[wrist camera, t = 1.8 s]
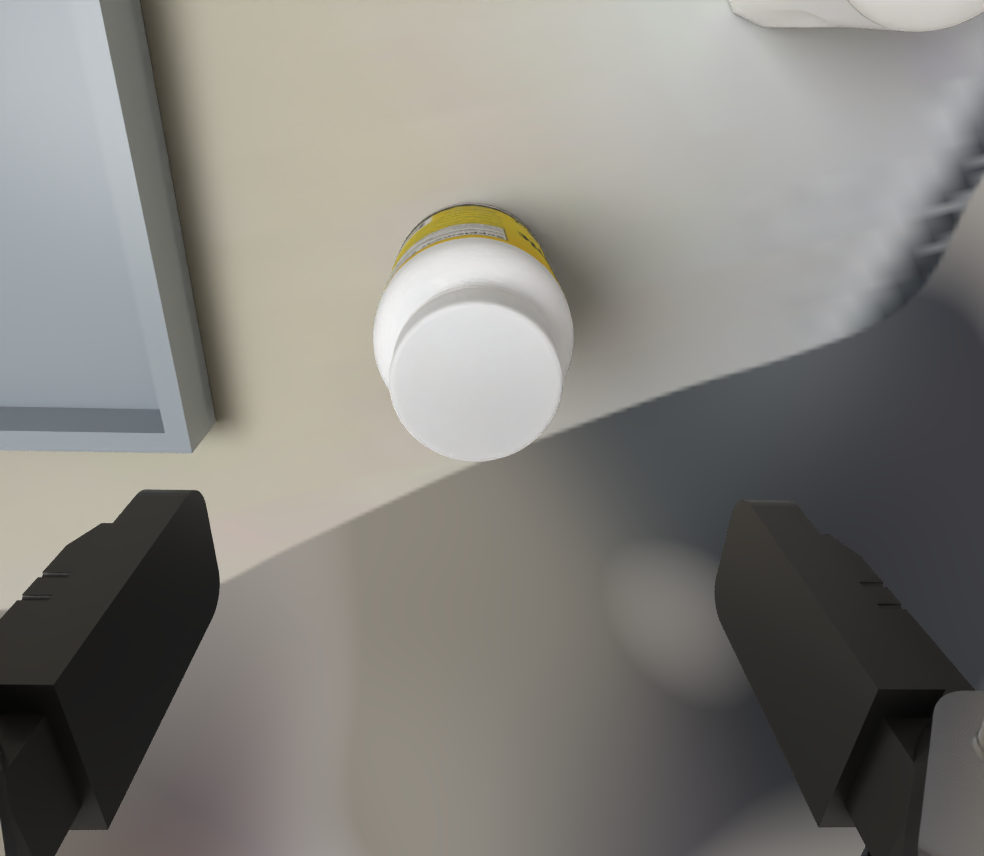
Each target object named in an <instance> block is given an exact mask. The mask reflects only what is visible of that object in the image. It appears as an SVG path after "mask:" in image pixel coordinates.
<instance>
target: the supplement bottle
mask: <svg viewBox="0 0 984 856" xmlns="http://www.w3.org/2000/svg"><path fill="white" fill-rule="evenodd" d="M573 344H574V331H573V323H572V317H571V313H570V309H569V306H568V303H567V301H566V298H565V295H564V293H563V291H562V288H561V287H560V285H559V283H558V281H557V279H556V277H555V275H554V273H553V271H552V269H551V267H550V266H549V264H548V262H547V260H546V258H545V256H544V253H543V251H542V249H541V247H540V245H539V244H538V242H537V241H536V239H535V238H534V236H533V235H532V234H531V232H530V231H529V230H528V229H527V228H526V226H524V225H523V224H522V223H521V222H520V221H519V220H518V219H517V218H515V217H514V216H512V215H511V214H509V213H507V212H505V211H503V210H501V209H499V208H496V207H493V206H489V205H484V204H476V203H466V204H457V205H453V206H449V207H446V208H443V209H441V210H438V211H436V212H434V213H433V214H431V215H429V216H428V217H426V218H425V219H424V220H422V221H421V222H420V223H419V224H418V225H417V226H416V227H415V228H414V229H413V230H412V232H411V233H410V234H409V236H408V237H407V238H406V240H405V242H404V244H403V245H402V247H401V250H400V252H399V254H398V256H397V259H396V261H395V264H394V267H393V269H392V272H391V274H390V277H389V279H388V282H387V285H386V287H385V290H384V292H383V294H382V297H381V299H380V302H379V305H378V308H377V313H376V317H375V321H374V332H373V345H374V353H375V359H376V363H377V366H378V369H379V371H380V374H381V376H382V378H383V381H384V383H385V384H386V386H387V388H388V389H389V391H390V395H391V400H392V403H393V406H394V409H395V411H396V413H397V415H398V417H399V419H400V421H401V422H402V424H403V425H404V427H405V428H406V429H407V430H408V432H409V433H410V434H411V435H412V436H413V437H414V438H415V439H416V440H418V441H419V442H420V443H421V444H423V445H424V446H426V447H427V448H429V449H430V450H432V451H434V452H436V453H438V454H440V455H443V456H446V457H448V458H452V459H456V460H463V461H477V462H478V461H489V460H495V459H499V458H503V457H506V456H508V455H511V454H513V453H515V452H518V451H519V450H521V449H523V448H525V447H526V446H528V445H529V444H530V443H532V442H533V441H534V440H536V439H537V438H538V437H539V436H540V434H541V433H543V431H544V430H545V429H546V428H547V426H548V425H549V423H550V422H551V421H552V419H553V417H554V415H555V413H556V411H557V408H558V406H559V402H560V398H561V394H562V388H563V380H564V378H565V376H566V374H567V371H568V368H569V365H570V362H571V357H572V352H573Z"/></svg>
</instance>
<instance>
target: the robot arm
mask: <svg viewBox="0 0 984 856" xmlns="http://www.w3.org/2000/svg"><path fill="white" fill-rule="evenodd" d="M219 587H220V579H219V570H218V565H217V560H216V555H215V549H214V544H213V539H212V534H211V529H210V523H209V518H208V513H207V508H206V503H205V500H204V497H203V496H202V494H201V493H200V492H199V491H197V490H142V491H140V492H139V493H138V494H137V495H136V496H135V497H134V498H133V500H132V501H131V502H130V503H129V504H128V506H127V507H126V508H125V509H124V510H123V512H122V513H121V514H120V515H119V516H118V518H117V519H116V520H115V521H114V522H113V523H101V524H100V525H98V526H97V527H95V528H93V529H92V530H90V531H89V532H87V533H85V534H84V535H82V536H81V537H79V538H78V539H76V540H74V541H73V542H71V543H70V544H68V545H67V546H66V547H65V548H64V549H63V550H62V551H61V552H60V553H59V554H58V556H57V557H56V558H55V559H54V560H53V561H52V562H51V563H50V564H49V566H48V567H47V568H46V569H45V570H44V571H43V576H42V577H38V578H37V579H36V580H35V581H34V582H33V583H32V584H31V586H30V587H29V588H28V589H27V590H26V591H25V592H24V593H23V594H22V595H23V598H22V600H21V601H19V600H17V601H16V602H15V603H14V604H13V606H12V607H11V608H10V609H9V610H8V611H7V612H6V613H5V615H4V616H3V617H2V618H1V619H0V856H55V854H56V853H57V851H58V849H59V847H60V845H61V843H62V841H63V840H64V837H65V836H66V834H67V832H68V831H69V830H108V828H109V826H110V824H111V822H112V820H113V818H114V816H115V814H116V812H117V810H118V808H119V806H120V804H121V802H122V800H123V798H124V796H125V794H126V792H127V790H128V788H129V786H130V784H131V782H132V780H133V778H134V776H135V774H136V772H137V770H138V768H139V766H140V764H141V762H142V760H143V758H144V756H145V754H146V752H147V749H148V747H149V745H150V743H151V741H152V739H153V737H154V735H155V733H156V731H157V729H158V727H159V725H160V723H161V721H162V719H163V717H164V715H165V713H166V711H167V709H168V707H169V705H170V703H171V701H172V699H173V697H174V695H175V693H176V691H177V689H178V687H179V684H180V682H181V681H182V679H183V677H184V674H185V672H186V670H187V668H188V666H189V664H190V662H191V660H192V658H193V656H194V654H195V652H196V650H197V648H198V646H199V644H200V642H201V640H202V638H203V636H204V634H205V632H206V630H207V628H208V626H209V624H210V622H211V620H212V618H213V615H214V613H215V610H216V606H217V602H218V597H219ZM715 604H716V610H717V614H718V617H719V620H720V622H721V624H722V627H723V629H724V631H725V633H726V635H727V637H728V639H729V641H730V643H731V645H732V647H733V650H734V652H735V654H736V656H737V658H738V660H739V662H740V664H741V666H742V668H743V670H744V673H745V675H746V677H747V679H748V681H749V683H750V685H751V687H752V689H753V691H754V693H755V696H756V697H757V700H758V702H759V704H760V706H761V708H762V710H763V712H764V714H765V716H766V718H767V721H768V723H769V725H770V727H771V729H772V731H773V733H774V735H775V737H776V739H777V742H778V743H779V746H780V748H781V750H782V752H783V754H784V756H785V758H786V760H787V762H788V764H789V766H790V769H791V771H792V773H793V775H794V777H795V779H796V781H797V783H798V785H799V787H800V789H801V792H802V794H803V796H804V798H805V800H806V802H807V804H808V806H809V808H810V810H811V812H812V815H813V817H814V819H815V821H816V823H817V825H818V827H856V828H857V830H858V832H859V834H860V836H861V838H862V840H863V841H864V843H865V845H866V846H865V848H864V850H863V852H862V854H861V856H984V692H978V691H975V689H974V688H973V687H972V686H971V685H970V684H969V682H968V681H967V680H966V679H965V678H964V677H963V676H962V674H961V673H960V672H959V671H958V669H957V668H956V667H955V666H954V665H953V664H952V662H951V661H950V660H949V659H948V658H947V657H946V656H945V654H944V653H943V652H942V651H941V650H940V649H939V647H938V646H937V645H936V644H935V643H934V641H933V640H932V639H931V638H930V637H929V635H928V634H927V633H926V632H925V631H924V630H923V628H922V627H921V626H920V625H919V624H918V623H917V621H916V620H915V619H914V618H913V617H912V616H911V614H910V613H909V612H908V611H907V610H906V609H902V608H901V603H900V602H899V600H898V599H897V598H896V597H895V596H894V594H893V593H892V592H891V591H890V590H889V589H888V588H887V587H883V582H882V580H881V579H880V578H879V577H878V576H877V575H876V574H875V572H874V571H873V570H872V569H871V568H870V566H869V565H868V564H867V563H866V562H865V561H864V559H863V558H862V557H861V556H860V555H858V554H857V553H855V552H854V551H852V550H851V549H850V548H848V547H847V546H845V545H843V544H842V543H841V542H839V541H838V540H836V539H835V538H833V537H832V536H831V535H829V534H820V533H819V531H818V530H817V529H816V528H815V526H814V525H813V524H812V523H811V522H810V520H809V519H808V518H807V517H806V515H805V514H804V513H803V511H802V510H801V509H800V508H799V507H798V505H796V504H795V503H794V502H792V501H770V500H769V501H767V500H741V501H739V502H738V503H737V504H736V505H735V507H734V509H733V512H732V516H731V520H730V524H729V528H728V532H727V536H726V540H725V544H724V548H723V552H722V556H721V560H720V564H719V568H718V572H717V576H716V581H715Z"/></svg>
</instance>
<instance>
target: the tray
mask: <svg viewBox="0 0 984 856" xmlns="http://www.w3.org/2000/svg"><path fill="white" fill-rule="evenodd" d="M215 422H216V419H215V414H214V408H213V403H212V397H211V392H210V386H209V381H208V375H207V370H206V364H205V359H204V353H203V347H202V342H201V336H200V331H199V325H198V320H197V314H196V309H195V303H194V298H193V292H192V287H191V281H190V276H189V270H188V265H187V259H186V254H185V248H184V243H183V237H182V232H181V226H180V220H179V215H178V209H177V204H176V198H175V193H174V187H173V182H172V176H171V171H170V165H169V160H168V154H167V149H166V143H165V138H164V132H163V127H162V121H161V116H160V110H159V105H158V99H157V93H156V88H155V82H154V77H153V71H152V66H151V60H150V55H149V49H148V44H147V38H146V33H145V27H144V22H143V16H142V11H141V5H140V0H0V450H9V451H75V452H141V453H193V451H194V450H195V449H196V447H197V446H198V445H199V443H200V442H201V441H202V440H203V438H204V437H205V436H206V434H207V433H208V432H209V430H210V429H211V428H212V426H213V425H214V424H215Z"/></svg>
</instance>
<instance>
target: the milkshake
mask: <svg viewBox="0 0 984 856" xmlns="http://www.w3.org/2000/svg"><path fill="white" fill-rule="evenodd" d="M728 1H729V3H730V6H731V9H732V11H733V13H735V14H737V15H739V16H741V17H743V18H745V19H747V20H749V21H751V22H753V23H755V24H757V25H759V26H761V27H849V28H865V29H879V30H893V31H908V32H925V31H934V30H940V29H944V28H948V27H952V26H955V25H958V24H960V23H963V22H965V21H967V20H969V19H971V18H973V17H975V16H977V15H979V14H981V13H982V12H984V0H728Z"/></svg>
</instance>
